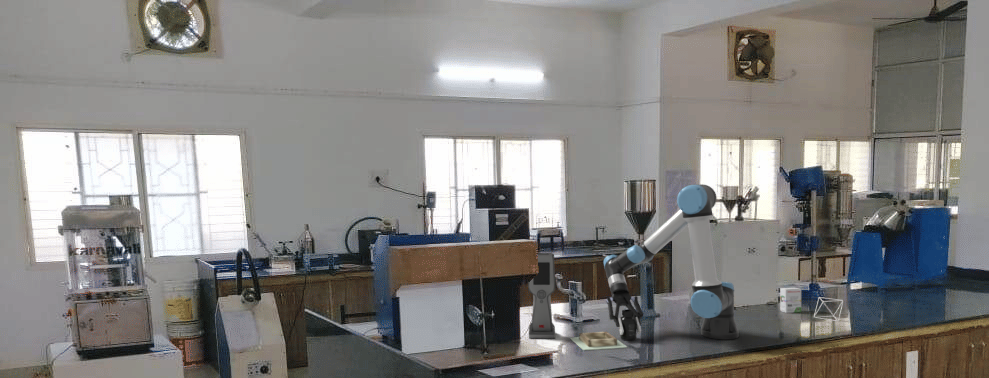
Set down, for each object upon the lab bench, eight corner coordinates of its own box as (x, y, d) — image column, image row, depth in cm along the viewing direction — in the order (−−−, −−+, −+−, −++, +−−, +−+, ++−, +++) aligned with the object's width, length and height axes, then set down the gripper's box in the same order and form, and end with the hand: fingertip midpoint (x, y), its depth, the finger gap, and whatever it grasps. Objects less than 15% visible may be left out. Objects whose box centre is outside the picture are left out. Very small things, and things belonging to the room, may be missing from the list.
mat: (610, 336, 254) (610, 335, 254) (627, 347, 236) (627, 346, 236) (570, 338, 251) (570, 337, 251) (583, 350, 233) (583, 349, 233)
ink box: (795, 310, 300) (795, 286, 299) (801, 312, 295) (801, 288, 295) (779, 311, 298) (779, 287, 298) (786, 313, 293) (786, 289, 293)
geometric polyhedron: (815, 320, 279) (815, 300, 279) (811, 314, 289) (811, 296, 289) (845, 322, 275) (846, 302, 275) (840, 316, 285) (840, 297, 285)
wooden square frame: (606, 337, 250) (606, 331, 250) (617, 345, 239) (616, 338, 239) (579, 339, 248) (579, 333, 248) (588, 346, 237) (588, 340, 237)
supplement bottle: (637, 337, 251) (636, 309, 251) (636, 341, 245) (636, 312, 245) (620, 336, 253) (620, 308, 253) (619, 340, 247) (619, 311, 247)
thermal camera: (555, 331, 263) (554, 252, 263) (556, 339, 250) (555, 256, 250) (529, 331, 264) (528, 252, 264) (528, 338, 251) (527, 256, 251)
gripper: (638, 291, 265) (651, 336, 249) (594, 292, 263) (605, 338, 247) (642, 281, 260) (656, 327, 244) (598, 282, 258) (609, 329, 242)
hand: (630, 332), depth 246 cm, fingers closed on supplement bottle, 7 cm apart
